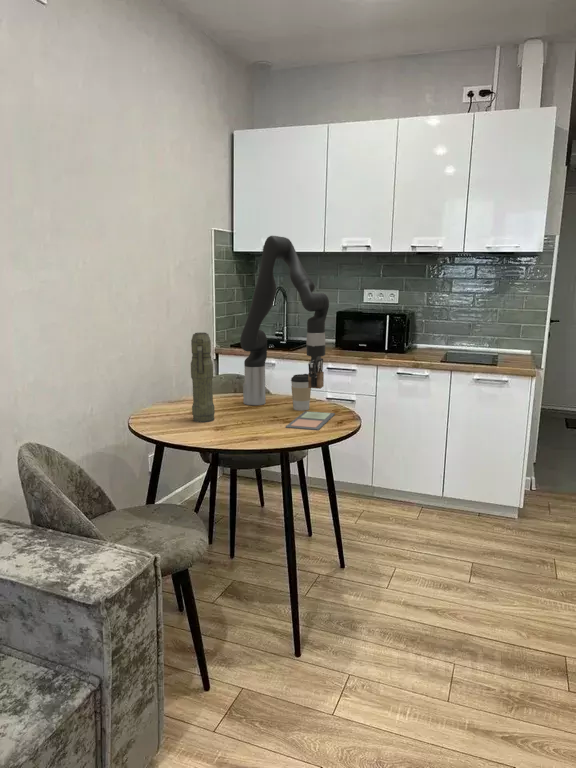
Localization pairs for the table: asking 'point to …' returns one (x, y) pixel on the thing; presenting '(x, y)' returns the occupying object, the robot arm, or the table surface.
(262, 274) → the robot arm
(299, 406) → the coffee cup
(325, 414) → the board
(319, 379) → the walnut block
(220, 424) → the table surface
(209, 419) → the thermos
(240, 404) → the table surface
